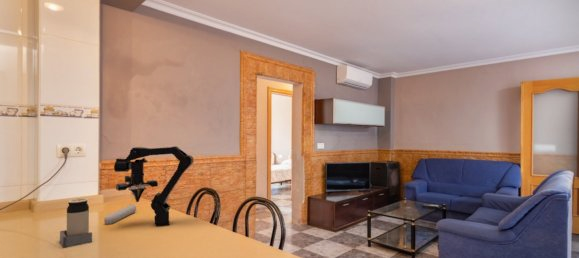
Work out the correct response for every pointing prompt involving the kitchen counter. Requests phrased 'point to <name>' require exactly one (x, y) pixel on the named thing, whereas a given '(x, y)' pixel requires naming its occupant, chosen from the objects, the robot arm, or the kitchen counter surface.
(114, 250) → the kitchen counter surface
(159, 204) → the robot arm
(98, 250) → the kitchen counter surface
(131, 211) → the tube
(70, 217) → the travel mug
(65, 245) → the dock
